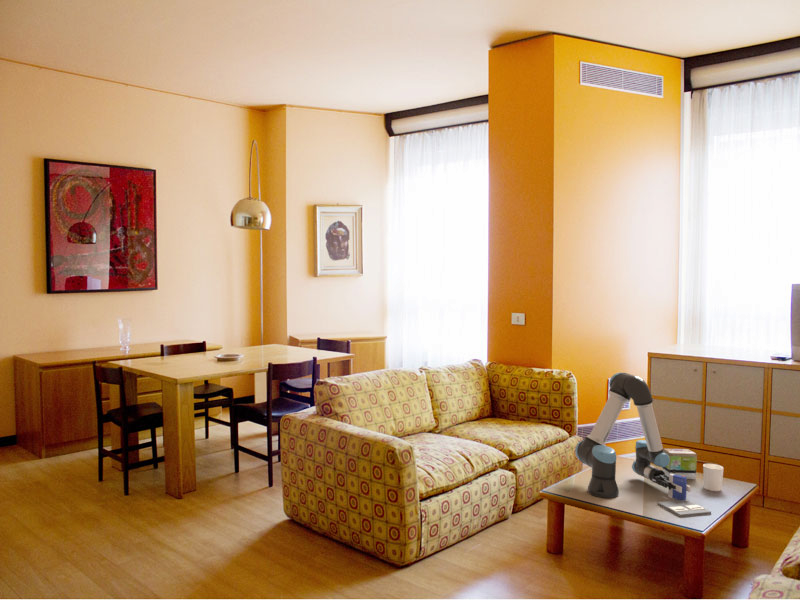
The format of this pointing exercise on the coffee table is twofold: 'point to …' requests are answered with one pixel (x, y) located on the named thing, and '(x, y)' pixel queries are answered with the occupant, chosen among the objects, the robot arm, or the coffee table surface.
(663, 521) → the coffee table surface
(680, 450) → the tea box
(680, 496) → the walkman
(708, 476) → the candle holder
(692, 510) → the label board
